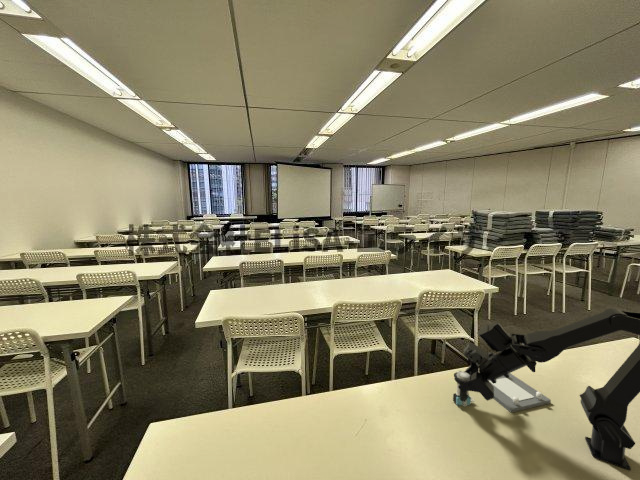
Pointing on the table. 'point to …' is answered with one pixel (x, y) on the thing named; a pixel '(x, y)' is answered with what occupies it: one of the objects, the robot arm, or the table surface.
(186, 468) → the table surface
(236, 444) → the table surface
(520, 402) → the mounting base
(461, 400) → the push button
